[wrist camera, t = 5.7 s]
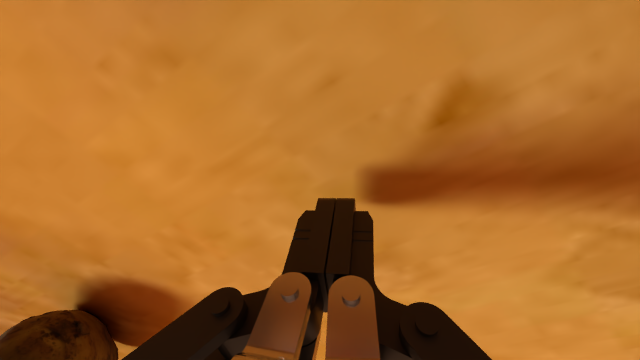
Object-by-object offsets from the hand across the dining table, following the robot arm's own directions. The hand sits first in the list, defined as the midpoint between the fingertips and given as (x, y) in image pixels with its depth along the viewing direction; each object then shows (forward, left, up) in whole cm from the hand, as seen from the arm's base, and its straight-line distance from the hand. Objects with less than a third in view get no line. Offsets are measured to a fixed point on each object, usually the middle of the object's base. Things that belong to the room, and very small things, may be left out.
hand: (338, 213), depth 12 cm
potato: (+24, +15, -2) cm, 28 cm away
